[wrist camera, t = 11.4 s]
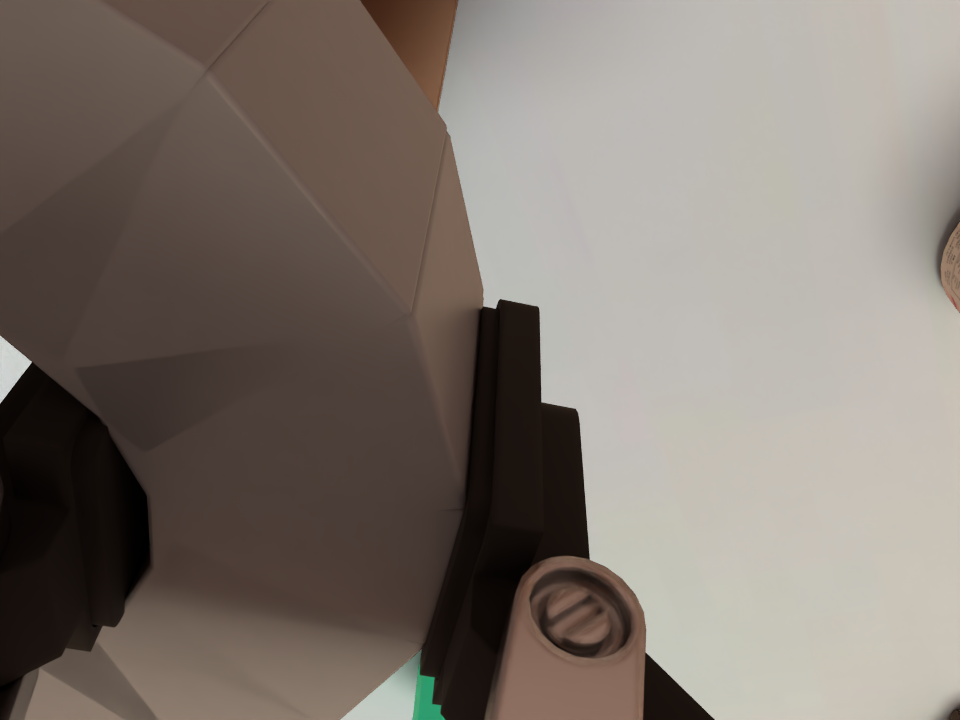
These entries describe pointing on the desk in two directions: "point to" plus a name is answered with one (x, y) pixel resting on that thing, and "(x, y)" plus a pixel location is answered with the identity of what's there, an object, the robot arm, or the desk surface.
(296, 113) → the tape
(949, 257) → the beverage can
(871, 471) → the desk surface
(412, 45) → the rack
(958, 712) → the clip-on lamp
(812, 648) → the desk surface
